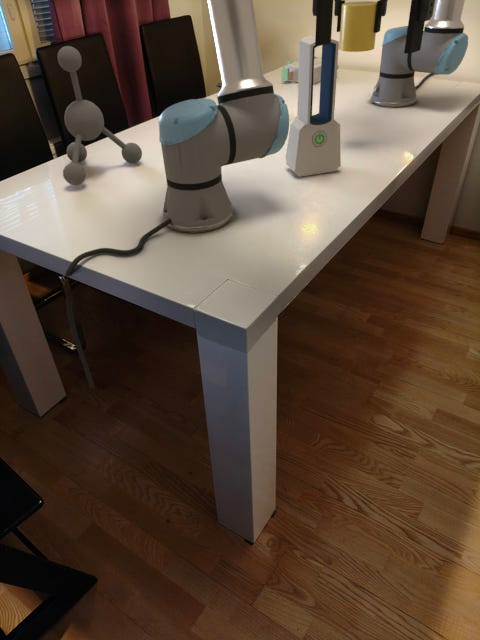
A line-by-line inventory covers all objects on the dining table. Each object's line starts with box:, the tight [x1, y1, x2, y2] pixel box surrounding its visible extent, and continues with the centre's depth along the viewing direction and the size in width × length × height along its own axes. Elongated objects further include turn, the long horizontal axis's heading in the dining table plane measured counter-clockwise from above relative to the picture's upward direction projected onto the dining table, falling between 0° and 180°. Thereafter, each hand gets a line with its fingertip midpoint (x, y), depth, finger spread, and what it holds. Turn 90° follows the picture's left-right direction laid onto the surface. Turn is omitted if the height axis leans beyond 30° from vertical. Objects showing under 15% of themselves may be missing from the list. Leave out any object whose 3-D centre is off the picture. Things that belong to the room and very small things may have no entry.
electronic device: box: [285, 34, 342, 178], centre depth 117 cm, size 12×8×30 cm, turn 105°
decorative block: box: [281, 55, 339, 85], centre depth 206 cm, size 26×6×20 cm
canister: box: [338, 0, 377, 53], centre depth 122 cm, size 9×9×10 cm
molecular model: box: [57, 45, 143, 186], centre depth 125 cm, size 24×22×30 cm
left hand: (364, 47), depth 65 cm, fingers open, 13 cm apart
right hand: (358, 31), depth 123 cm, fingers closed on canister, 9 cm apart
